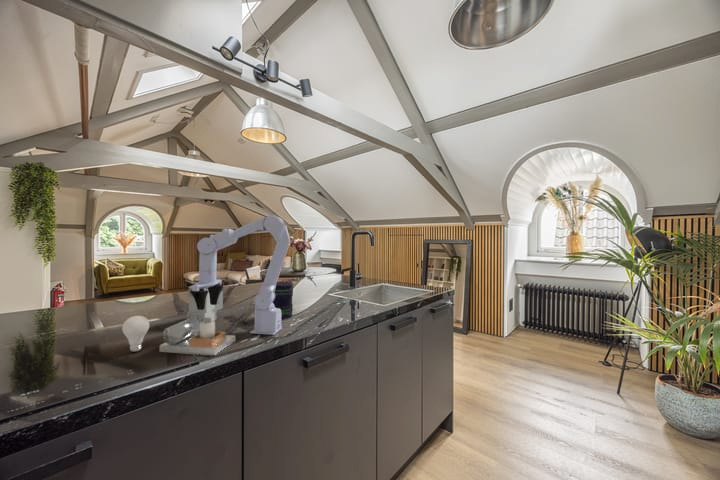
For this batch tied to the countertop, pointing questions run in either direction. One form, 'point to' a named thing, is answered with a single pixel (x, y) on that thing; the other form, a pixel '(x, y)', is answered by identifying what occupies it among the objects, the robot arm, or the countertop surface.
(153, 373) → the countertop surface
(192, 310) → the circuit breaker
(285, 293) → the storage jar
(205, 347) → the white rectangular base assembly
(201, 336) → the white bottle
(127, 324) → the light bulb
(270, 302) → the robot arm
